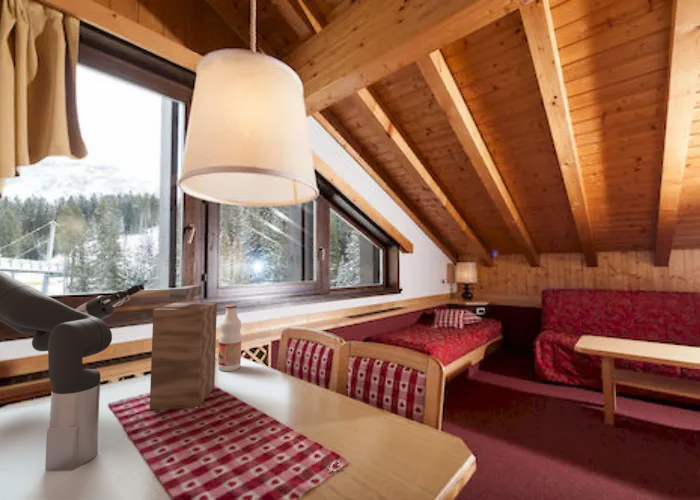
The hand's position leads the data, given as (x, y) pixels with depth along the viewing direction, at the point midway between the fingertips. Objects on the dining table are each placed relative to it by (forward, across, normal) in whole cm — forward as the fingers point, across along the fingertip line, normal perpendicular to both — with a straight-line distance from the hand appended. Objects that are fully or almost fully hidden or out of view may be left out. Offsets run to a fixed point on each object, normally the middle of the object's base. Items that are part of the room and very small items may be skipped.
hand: (140, 287), depth 118 cm
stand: (-5, 0, +41) cm, 42 cm away
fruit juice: (+1, +32, +45) cm, 55 cm away
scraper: (+3, 0, +6) cm, 7 cm away
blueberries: (+38, -44, +67) cm, 89 cm away
